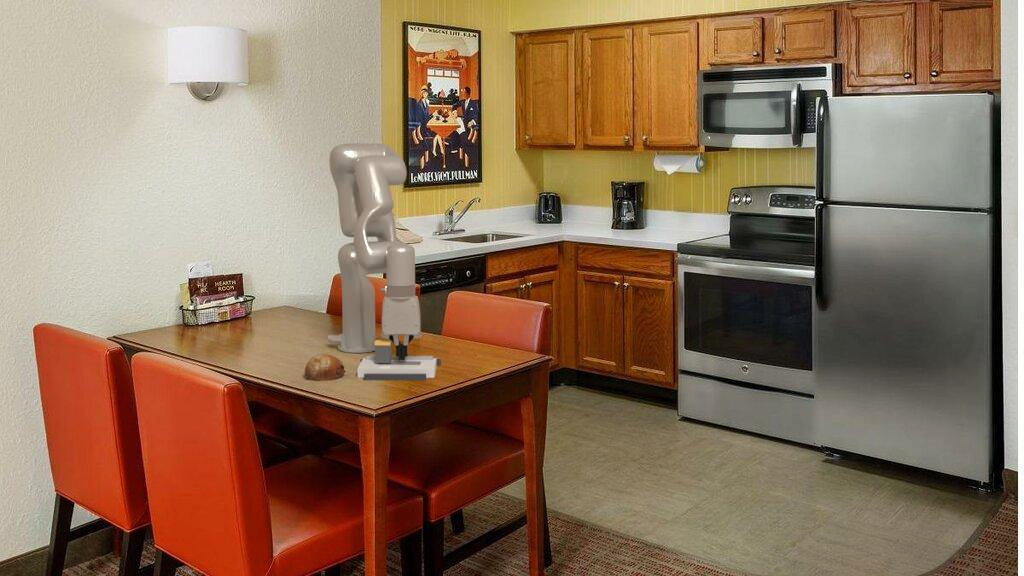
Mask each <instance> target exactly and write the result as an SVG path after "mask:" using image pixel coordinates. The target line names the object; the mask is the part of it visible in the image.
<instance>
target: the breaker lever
mask: <svg viewBox="0 0 1024 576" xmlns="http://www.w3.org/2000/svg"><path fill="white" fill-rule="evenodd" d="M374 356H375V363H391V356H392V341H391V340H390V339H375V351H374Z"/></svg>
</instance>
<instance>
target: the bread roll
mask: <svg viewBox="0 0 1024 576" xmlns="http://www.w3.org/2000/svg"><path fill="white" fill-rule="evenodd" d="M345 373H346V369H345V365H344V363H343V361H342V360H340V359H339V358H338V357H336V356H334V355H332V354H328V353H317V354H316V355H313V356H312V357H311V358H310V359H309V360H308V361H307V363H306V366H305V368H304V376H305V377H306V379H307V380H309V381H313V382H325V381H326V382H328V381H335V380H339V379H341V378H343V375H344V374H345Z"/></svg>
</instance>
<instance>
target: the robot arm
mask: <svg viewBox="0 0 1024 576" xmlns="http://www.w3.org/2000/svg"><path fill="white" fill-rule="evenodd" d="M328 159H329V160H328V161H329V162H328V163H329V170H330V173H331V177H332V180H333V182H334V185H335V188H336V192H337V202H338V203H337V205H338V214H339V223H340V224H339V225H340V229H341V232H342V234H343V236H345V237H347V238H353V242H349V243H346V244H343V245H342V246H341V247H340V248H339V249H338V253H337V259H338V260H337V261H338V267H339V272H340V278H341V279H340V280H341V297H342V298H341V299H342V300H341V303H342V305H341V306H342V307H341V308H342V309H341V310H342V332H341V333H338V335H337V334H328V336H327V341H328V342H330V343H338V344H337V350H339V351H340V352H344V353H353V354H357V353H358V354H360V353H362V354H363V353H370V352H375V341H376V297H375V296H376V291H375V287H374V284H372V282H371V281H370V280H369V278H368V277H367V275H375V274H376V275H377V274H386V275H385V276H386V278H385V279H386V285H385V286H382V287H380V293H384V294H386V295H384V297H383V300H382V308H381V334H380V336H381V338H383V339H385V340H391V343H393V344H394V345H395V356H396V357H399V360H401V359H402V360H405V357H407V356H408V345H409V344H410V343H411V342H412V341H413V340H415V339H420V338H422V336H423V335H422V332H421V321H422V320H421V309H420V301H419V296H417V295H416V251H415V247H413V245H410V244H407V243H405V242H404V241H401V240H400V241H398V238H397V230H396V229H397V227H396V220H395V215H394V212H393V209H394V206H395V205H394V199H393V196H392V192H391V188H390V186H401V185H403V184H404V183H405V182H406V179H407V174H408V172H407V167H406V163H405V161H404V159H403V158H402V157H401V155H400V154H399V153H398V152H397V151H396V150H394V149H393V148H392V147H390V146H389V145H388V144H385V143H360V142H359V143H358V142H356V143H352V142H351V143H342V144H338V145H335V146H333V148H332V149H331V151H330V154H329V158H328ZM368 238H376V239H377V241H369V240H368ZM400 336H404V338H403V341H402V342H401V340H400Z"/></svg>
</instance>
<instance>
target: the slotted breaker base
mask: <svg viewBox="0 0 1024 576" xmlns="http://www.w3.org/2000/svg"><path fill="white" fill-rule="evenodd" d="M362 359H363V360H362V361H361V360H360V362H359V365H358V367H357V378H364V374H365V373H369V374H426V379H429V378H433V379H434V378H435V376H436V372H437V367H438V365H437V359H438V358H437V357H434V356H433V355H407V357H405V360H402V359H401V360H399V357H396V355H391V363H375V355H366V356H365V357H363V358H362Z"/></svg>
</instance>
